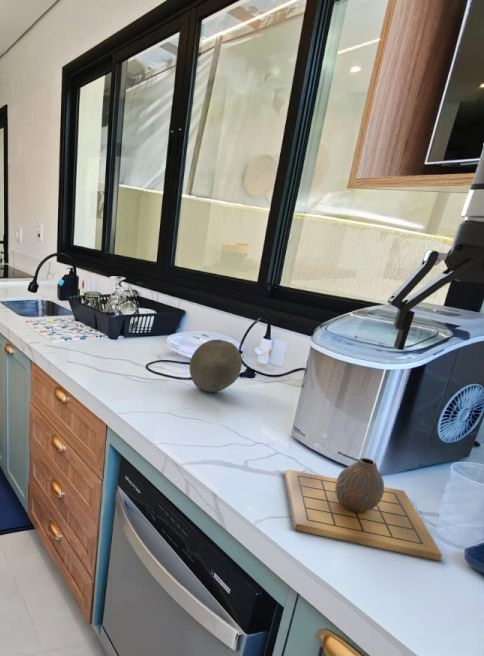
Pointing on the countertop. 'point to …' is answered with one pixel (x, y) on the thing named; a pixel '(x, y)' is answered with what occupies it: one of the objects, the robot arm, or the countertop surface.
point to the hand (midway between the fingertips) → (444, 353)
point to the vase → (360, 486)
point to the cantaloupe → (215, 365)
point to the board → (358, 517)
